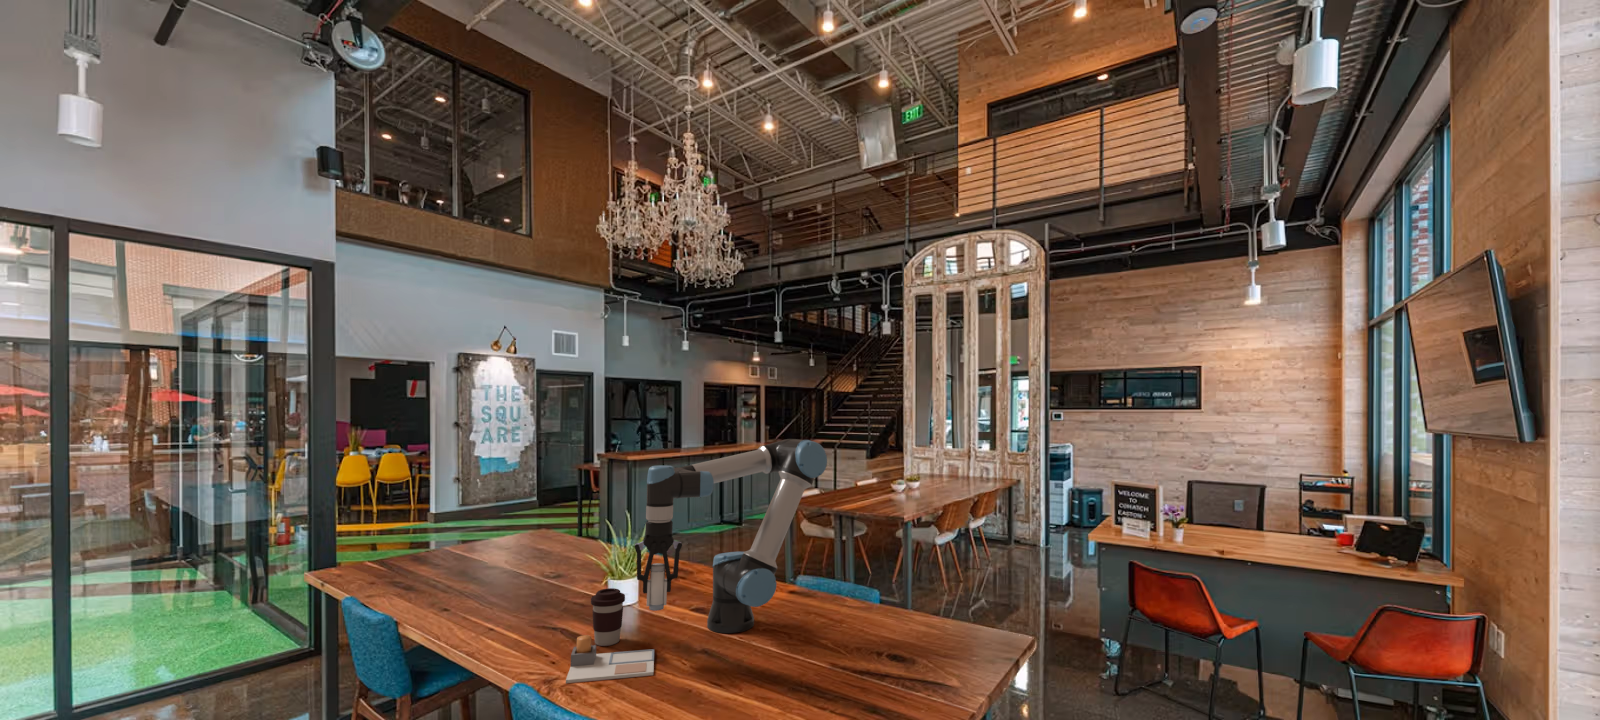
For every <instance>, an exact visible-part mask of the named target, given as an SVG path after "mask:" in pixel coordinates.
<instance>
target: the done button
mask: <svg viewBox="0 0 1600 720" xmlns="http://www.w3.org/2000/svg"><path fill="white" fill-rule="evenodd" d="M591 645H592V636H591V635H589V634H587V635H585V634H584V635H580V636H577V638H576V647H577V654H578V653H590V652H591Z"/></svg>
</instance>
